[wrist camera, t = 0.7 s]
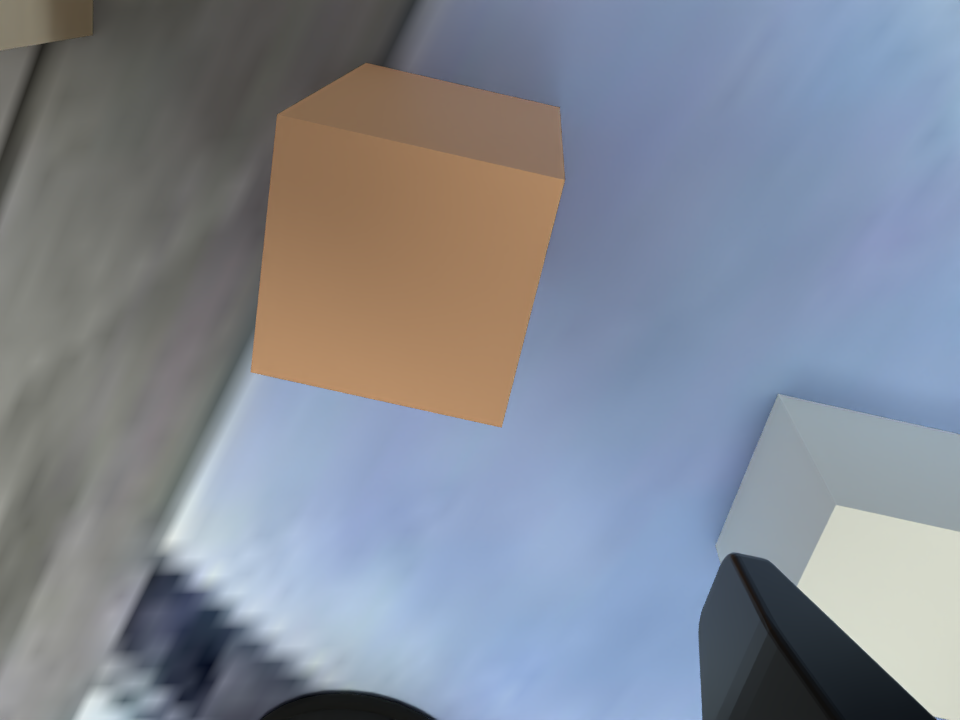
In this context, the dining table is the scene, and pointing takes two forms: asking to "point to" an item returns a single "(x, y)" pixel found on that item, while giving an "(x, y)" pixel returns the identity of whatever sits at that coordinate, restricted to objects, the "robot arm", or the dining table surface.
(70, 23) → the birch cube
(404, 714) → the aerosol can
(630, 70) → the dining table surface
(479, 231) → the brown block
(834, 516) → the off-white cube
